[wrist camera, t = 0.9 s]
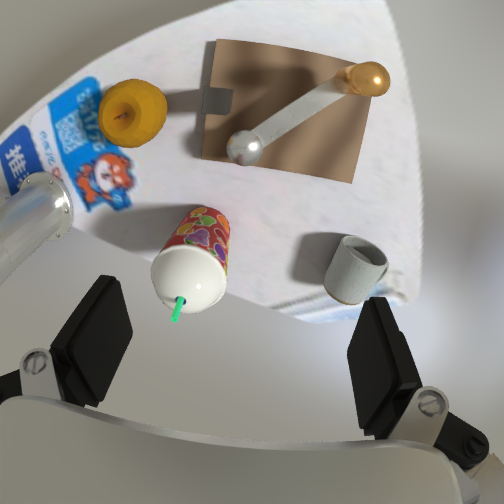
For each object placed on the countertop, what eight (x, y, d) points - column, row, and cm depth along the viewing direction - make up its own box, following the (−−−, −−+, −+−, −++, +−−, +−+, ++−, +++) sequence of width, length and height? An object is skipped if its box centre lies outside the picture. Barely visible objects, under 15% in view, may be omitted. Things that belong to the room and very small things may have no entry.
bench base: (203, 156, 39) (192, 169, 33) (218, 40, 31) (209, 30, 25) (348, 180, 40) (364, 197, 34) (372, 70, 32) (393, 67, 26)
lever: (242, 168, 35) (235, 195, 27) (221, 142, 34) (207, 160, 25) (364, 89, 29) (398, 90, 21) (345, 61, 28) (374, 51, 20)
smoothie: (178, 245, 46) (135, 341, 28) (181, 194, 41) (127, 274, 24) (232, 254, 46) (215, 356, 29) (240, 203, 42) (224, 291, 25)
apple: (109, 98, 34) (75, 103, 27) (161, 68, 32) (135, 63, 25) (134, 149, 38) (105, 165, 30) (186, 122, 36) (166, 131, 29)
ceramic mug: (316, 274, 47) (325, 305, 41) (336, 229, 43) (350, 257, 37) (372, 287, 49) (386, 317, 42) (393, 246, 45) (413, 273, 38)
